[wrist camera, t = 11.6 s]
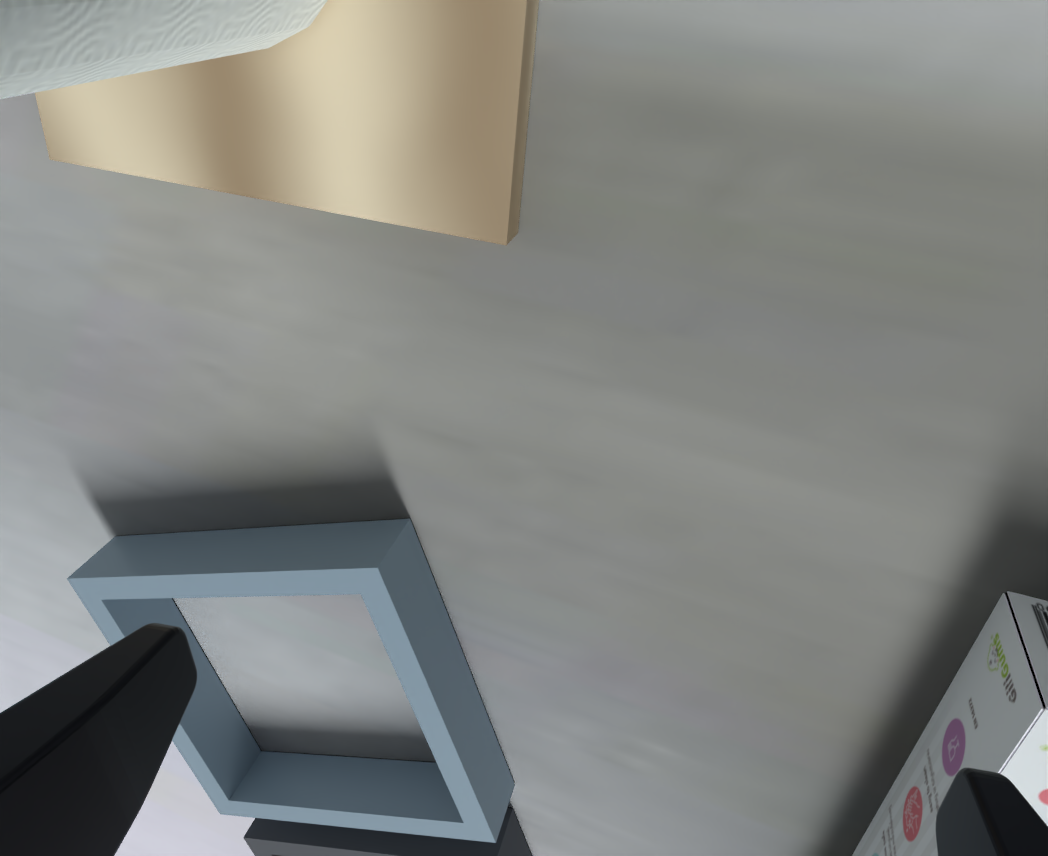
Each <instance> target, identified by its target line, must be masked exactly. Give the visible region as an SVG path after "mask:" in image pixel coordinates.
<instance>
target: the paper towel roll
mask: <svg viewBox="0 0 1048 856" xmlns="http://www.w3.org/2000/svg"><path fill="white" fill-rule="evenodd" d="M326 2H327V0H0V99H5V98H10V97H15V96H20V95H26V94H31V93H36V92H41V91H47V90H52V89H57V88H62V87H67V86H73V85H78V84H83V83H88V82H94V81H99V80H104V79H109V78H115V77H120V76H125V75H130V74H136V73H141V72H146V71H151V70H157V69H162V68H167V67H172V66H178V65H183V64H188V63H193V62H199V61H204V60H209V59H214V58H220V57H225V56H230V55H235V54H240V53H246V52H251V51H256V50H261V49H267V48H270V47H272V46H274V45H275V44H277V43H279V42H281V41H283V40H285V39H287V38H289V37H290V36H292V35H294V34H296V33H298V32H300V31H302V30H304V29H305V28H307V27H309V26H310V25H311V24H312V22H313V21H314V19H315V18H316V17H317V15H318V14H319V12H320V11H321V9H322V8H323V6H324V5H325V3H326Z"/></svg>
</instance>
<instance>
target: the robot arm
mask: <svg viewBox="0 0 1048 856" xmlns="http://www.w3.org/2000/svg"><path fill="white" fill-rule="evenodd" d="M196 683H197V668H196V665H195V662H194V658H193V655H192V652H191V649H190V645H189V642H188V639H187V636H186V634H185V632H184V630H182V629H181V628H180V627H177V626H171V625H166V624H160V623H150V624H147V625H144V626H142V627H141V628H139V629H137V630H136V631H134V632H132V633H131V634H129V635H127V636H126V637H124V638H123V639H121V640H119V641H118V642H116V643H114V644H113V645H111V646H109V647H108V648H106V649H105V650H103V651H101V652H100V653H98V654H96V655H95V656H93V657H91V658H90V659H88V660H86V661H85V662H83V663H82V664H80V665H78V666H77V667H75V668H73V669H72V670H70V671H68V672H67V673H65V674H64V675H62V676H60V677H59V678H57V679H55V680H54V681H52V682H50V683H49V684H47V685H46V686H44V687H42V688H41V689H39V690H37V691H36V692H34V693H32V694H31V695H29V696H28V697H26V698H24V699H23V700H21V701H19V702H18V703H16V704H14V705H13V706H11V707H10V708H8V709H6V710H5V711H3V712H1V713H0V856H114V855H115V853H116V851H117V850H118V848H119V846H120V844H121V843H122V841H123V839H124V837H125V836H126V834H127V832H128V830H129V829H130V827H131V825H132V823H133V821H134V820H135V818H136V816H137V814H138V812H139V810H140V809H141V807H142V805H143V803H144V801H145V798H146V796H147V794H148V792H149V790H150V788H151V786H152V784H153V782H154V779H155V777H156V775H157V773H158V770H159V768H160V766H161V764H162V762H163V759H164V757H165V755H166V753H167V750H168V748H169V746H170V744H171V741H172V739H173V737H174V735H175V733H176V730H177V728H178V726H179V724H180V721H181V719H182V717H183V715H184V713H185V710H186V708H187V706H188V704H189V701H190V699H191V697H192V695H193V692H194V690H195V687H196ZM935 830H936V842H937V852H938V856H1048V826H1047V825H1046V823H1045V822H1044V821H1043V820H1042V818H1041V817H1040V816H1039V815H1038V814H1037V812H1036V811H1035V810H1034V809H1033V807H1032V806H1031V805H1030V804H1029V803H1028V801H1027V800H1026V799H1025V798H1024V796H1023V795H1022V794H1021V793H1020V791H1019V790H1018V789H1017V788H1016V787H1015V785H1014V784H1013V783H1012V782H1011V781H1010V780H1009V779H1008V778H1007V777H1005V776H1004V775H1002V774H999V773H996V772H991V771H985V770H980V769H974V768H963V769H961V770H959V771H958V773H957V774H956V776H955V778H954V780H953V782H952V784H951V785H950V787H949V789H948V791H947V793H946V795H945V797H944V799H943V801H942V803H941V805H940V807H939V809H938V812H937V816H936V829H935Z"/></svg>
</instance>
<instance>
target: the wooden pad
mask: <svg viewBox="0 0 1048 856" xmlns="http://www.w3.org/2000/svg"><path fill="white" fill-rule="evenodd" d="M538 5H539V0H327V2H326V3H325V5H324V6H323V8H322V9H321V11H320V12H319V14H318V15H317V17H316V18H315V19H314V21H313V22H312V24H311V25H310V26H309V27H307V28H305V29H304V30H302V31H300V32H298V33H296V34H294V35H292V36H290V37H289V38H287V39H285V40H283V41H281V42H279V43H277V44H275V45H274V46H272V47H270V48H267V49H261V50H256V51H251V52H246V53H240V54H235V55H230V56H225V57H220V58H214V59H209V60H204V61H199V62H193V63H188V64H183V65H178V66H172V67H167V68H162V69H157V70H151V71H146V72H141V73H136V74H130V75H125V76H120V77H115V78H109V79H104V80H99V81H94V82H88V83H83V84H78V85H73V86H67V87H62V88H57V89H52V90H47V91H41V92H36V93H35V96H36V100H37V104H38V109H39V113H40V118H41V122H42V127H43V131H44V136H45V140H46V145H47V149H48V154H49V158H50V160H55V161H60V162H66V163H71V164H76V165H82V166H87V167H92V168H98V169H103V170H108V171H114V172H119V173H124V174H130V175H135V176H140V177H146V178H151V179H156V180H162V181H167V182H172V183H178V184H183V185H188V186H194V187H199V188H204V189H210V190H215V191H220V192H226V193H231V194H236V195H242V196H247V197H252V198H257V199H263V200H268V201H273V202H279V203H284V204H289V205H295V206H300V207H305V208H311V209H316V210H321V211H327V212H332V213H337V214H343V215H348V216H353V217H359V218H364V219H369V220H375V221H380V222H385V223H391V224H396V225H401V226H407V227H412V228H417V229H423V230H428V231H433V232H439V233H444V234H449V235H454V236H460V237H465V238H470V239H476V240H481V241H486V242H492V243H497V244H502V245H507V244H508V243H509V242H510V241H511V240H512V239H513V238H514V237H515V236H516V235H517V234H518V228H519V217H520V206H521V194H522V183H523V172H524V161H525V150H526V139H527V128H528V117H529V105H530V94H531V83H532V72H533V61H534V50H535V39H536V28H537V16H538Z"/></svg>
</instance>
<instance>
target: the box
mask: <svg viewBox="0 0 1048 856" xmlns="http://www.w3.org/2000/svg"><path fill="white" fill-rule="evenodd" d="M1007 594H1008V597H1009V600H1010V603H1011V606H1012V609H1013V612H1014V614H1015V617H1016V620H1017V623H1018V626H1019V629H1020V632H1021V635H1022V638H1023V641H1024V644H1025V647H1026V650H1027V653H1028V656H1029V659H1030V662H1031V664H1032V667H1033V670H1034V673H1035V676H1036V679H1037V682H1038V685H1039V688H1040V691H1041V694H1042V697H1043V700H1044V703H1045V706H1046V708H1045V709H1044V708H1043V705H1042V702H1041V699H1040V696H1039V693H1038V690H1037V687H1036V684H1035V681H1034V678H1033V675H1032V672H1031V670H1030V667H1029V664H1028V661H1027V658H1026V655H1025V652H1024V649H1023V646H1022V643H1021V640H1020V637H1019V634H1018V631H1017V628H1016V625H1015V622H1014V619H1013V616H1012V613H1011V610H1010V607H1009V604H1008V601H1007V598H1006V595H1005V593H1003V594H1002V596H1001V597H1000V599H999V601H998V603H997V604H996V606H995V608H994V610H993V611H992V613H991V615H990V617H989V618H988V620H987V622H986V623H985V625H984V627H983V629H982V630H981V632H980V634H979V636H978V637H977V639H976V641H975V643H974V644H973V646H972V648H971V650H970V651H969V653H968V655H967V656H966V658H965V660H964V662H963V663H962V665H961V667H960V669H959V670H958V672H957V674H956V676H955V677H954V679H953V681H952V683H951V684H950V686H949V688H948V690H947V691H946V693H945V695H944V696H943V698H942V700H941V702H940V703H939V705H938V707H937V709H936V710H935V712H934V714H933V716H932V717H931V719H930V721H929V723H928V724H927V726H926V728H925V730H924V731H923V733H922V735H921V736H920V738H919V740H918V742H917V743H916V745H915V747H914V749H913V750H912V752H911V754H910V756H909V757H908V759H907V761H906V763H905V764H904V766H903V768H902V769H901V771H900V773H899V775H898V776H897V778H896V780H895V782H894V783H893V785H892V787H891V789H890V790H889V792H888V794H887V796H886V797H885V799H884V801H883V803H882V804H881V806H880V808H879V809H878V811H877V813H876V815H875V816H874V818H873V820H872V822H871V823H870V825H869V827H868V829H867V830H866V832H865V834H864V836H863V837H862V839H861V841H860V842H859V844H858V846H857V848H856V849H855V851H854V853H853V855H852V856H938V852H937V842H936V830H935V829H936V816H937V812H938V809H939V807H940V805H941V803H942V801H943V799H944V797H945V795H946V793H947V791H948V789H949V787H950V785H951V784H952V782H953V780H954V778H955V776H956V774H957V773H958V771H959V770H961V769H963V768H974V769H980V770H985V771H991V772H996V773H999V774H1002V775H1004V776H1005V777H1007V778H1008V779H1009V780H1010V781H1011V782H1012V783H1013V784H1014V785H1015V787H1016V788H1017V789H1018V790H1019V791H1020V793H1021V794H1022V795H1023V796H1024V798H1025V799H1026V800H1027V801H1028V803H1029V804H1030V805H1031V806H1032V807H1033V809H1034V810H1035V811H1036V812H1037V814H1038V815H1039V816H1040V817H1041V818H1042V820H1043V821H1044V822H1045V823H1046V825H1047V826H1048V601H1046V600H1042V599H1038V598H1034V597H1030V596H1026V595H1022V594H1018V593H1014V592H1010V591H1008V592H1007Z"/></svg>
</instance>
